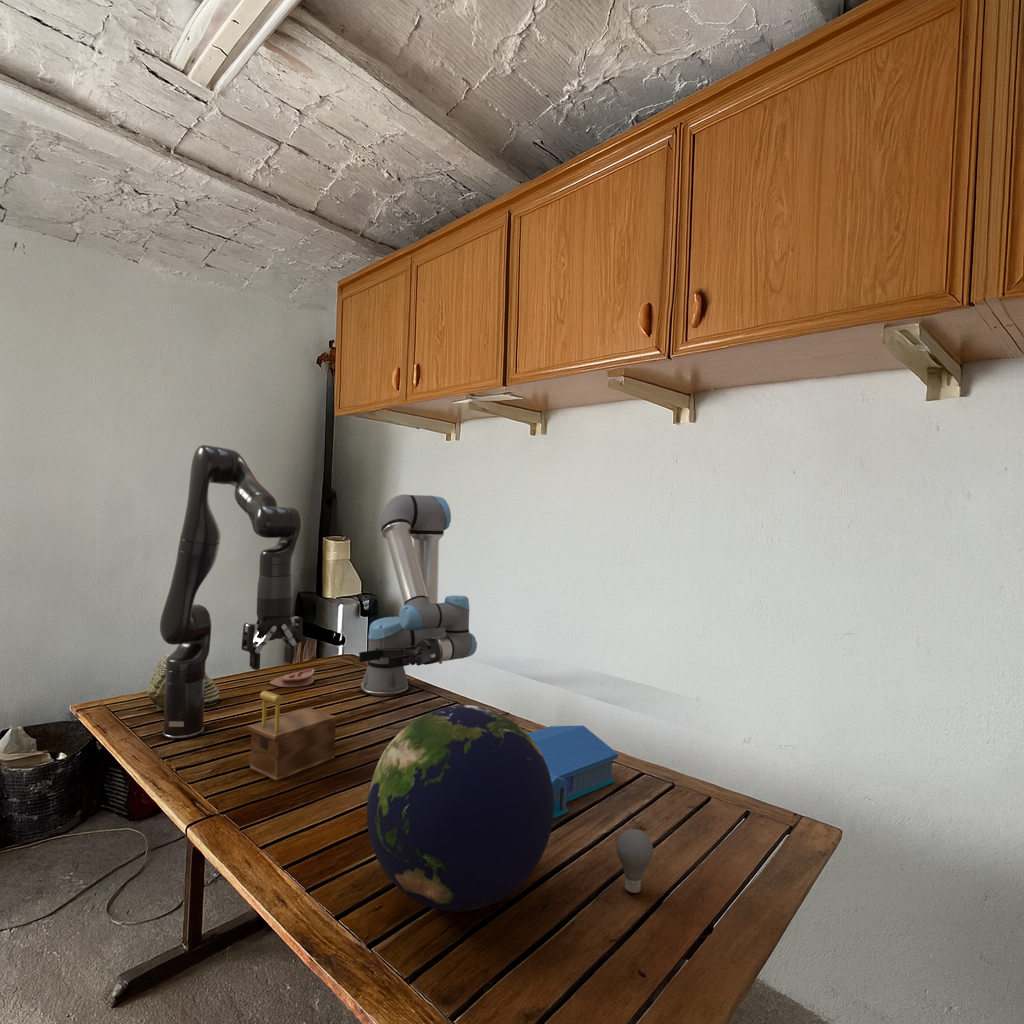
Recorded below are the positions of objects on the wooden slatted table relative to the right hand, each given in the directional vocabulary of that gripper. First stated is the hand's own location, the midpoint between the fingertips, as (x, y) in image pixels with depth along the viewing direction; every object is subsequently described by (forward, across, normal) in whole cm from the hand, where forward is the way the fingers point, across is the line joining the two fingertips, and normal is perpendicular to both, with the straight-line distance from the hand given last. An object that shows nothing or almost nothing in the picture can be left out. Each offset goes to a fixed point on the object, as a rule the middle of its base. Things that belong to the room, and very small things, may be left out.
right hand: (374, 660), depth 174 cm
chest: (+27, -6, -20) cm, 34 cm away
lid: (+27, -6, -11) cm, 30 cm away
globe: (+32, -69, -25) cm, 80 cm away
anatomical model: (-4, +52, -14) cm, 55 cm away
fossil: (+31, +51, -15) cm, 61 cm away
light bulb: (+10, -88, -26) cm, 93 cm away
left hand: (+34, -8, +4) cm, 35 cm away
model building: (-4, -52, -23) cm, 57 cm away
